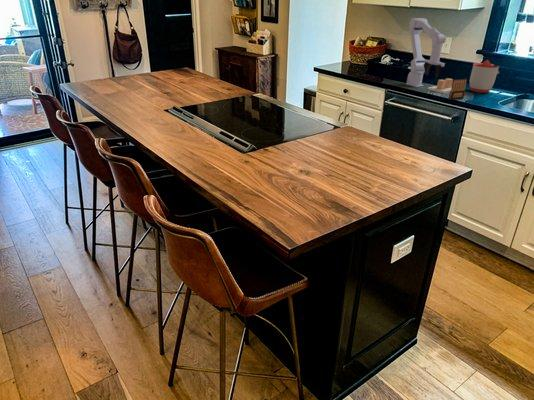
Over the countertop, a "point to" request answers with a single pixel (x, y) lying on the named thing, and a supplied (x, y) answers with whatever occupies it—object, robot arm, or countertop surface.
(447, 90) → the housing
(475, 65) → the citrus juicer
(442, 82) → the jaw block
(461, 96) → the ammunition clip
